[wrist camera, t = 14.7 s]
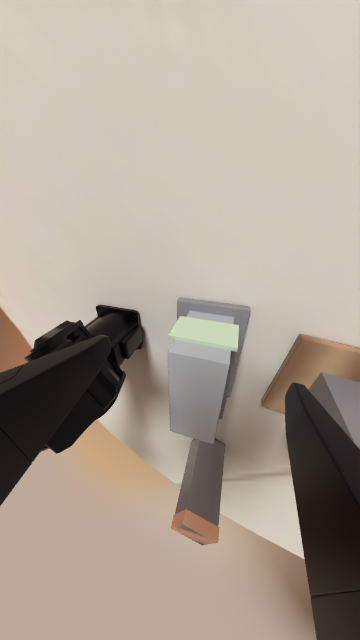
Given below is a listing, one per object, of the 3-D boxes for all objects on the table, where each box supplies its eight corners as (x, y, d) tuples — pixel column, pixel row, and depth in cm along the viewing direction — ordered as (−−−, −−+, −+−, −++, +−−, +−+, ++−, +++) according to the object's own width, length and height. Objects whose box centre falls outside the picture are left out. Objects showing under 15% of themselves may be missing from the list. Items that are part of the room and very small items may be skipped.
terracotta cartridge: (190, 442, 38) (170, 528, 28) (200, 431, 35) (182, 523, 25) (213, 454, 38) (202, 545, 28) (225, 444, 35) (218, 543, 25)
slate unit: (178, 378, 29) (158, 431, 23) (179, 297, 22) (150, 338, 15) (230, 391, 28) (225, 453, 21) (250, 306, 20) (253, 358, 13)
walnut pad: (261, 400, 27) (262, 406, 26) (300, 333, 20) (302, 339, 19) (355, 429, 25) (359, 437, 24) (432, 365, 18) (441, 373, 17)
